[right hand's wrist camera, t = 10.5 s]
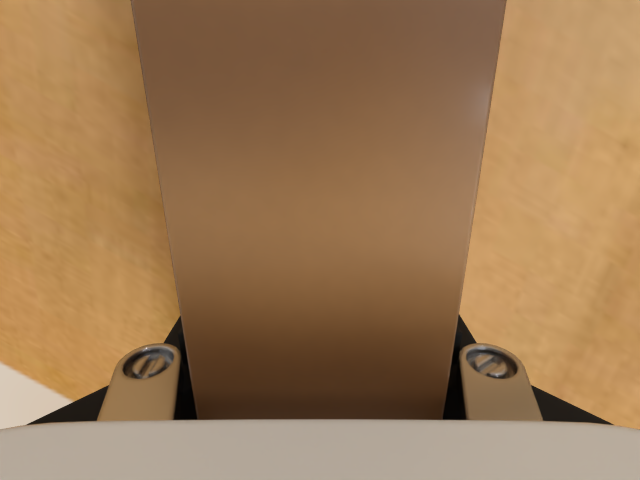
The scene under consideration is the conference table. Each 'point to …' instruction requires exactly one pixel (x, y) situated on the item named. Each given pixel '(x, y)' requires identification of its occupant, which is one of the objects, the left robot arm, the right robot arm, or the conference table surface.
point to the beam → (319, 195)
